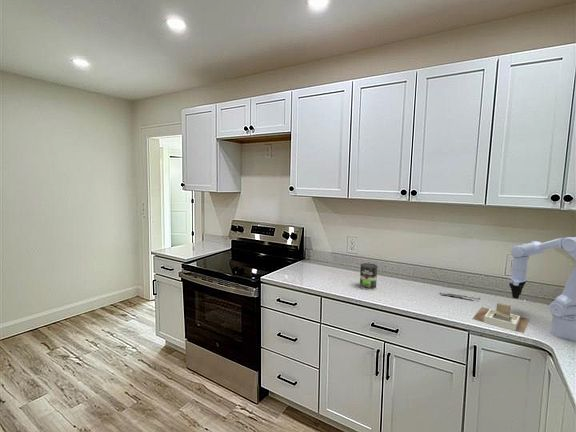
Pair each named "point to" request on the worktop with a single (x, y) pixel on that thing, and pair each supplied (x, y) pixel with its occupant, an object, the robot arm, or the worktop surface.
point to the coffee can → (368, 276)
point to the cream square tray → (502, 320)
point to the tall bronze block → (503, 310)
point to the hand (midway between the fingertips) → (516, 296)
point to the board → (480, 317)
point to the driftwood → (459, 296)
